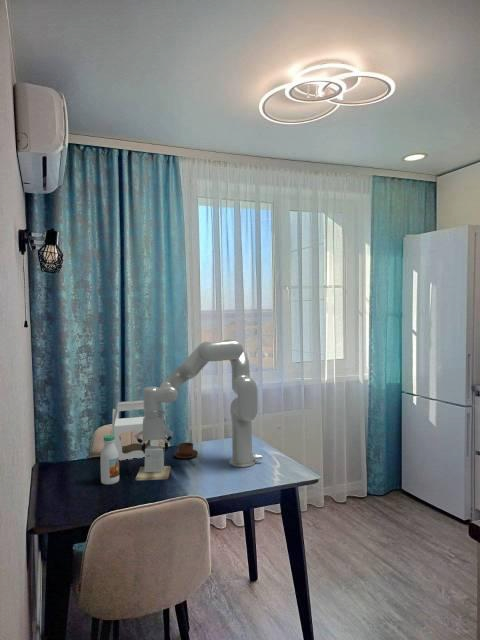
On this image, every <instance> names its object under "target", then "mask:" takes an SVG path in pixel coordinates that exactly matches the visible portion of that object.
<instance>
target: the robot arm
mask: <svg viewBox="0 0 480 640" xmlns="http://www.w3.org/2000/svg"><path fill="white" fill-rule="evenodd" d="M221 361H223V362H224V361H230V365H231V387H232V388H231V389H232V391H233V392H234V393H235V394H236V396H237V397H235V398H234V399H233V400H232V402H231V403H230V421H231V444H232V445H231V449H232V451H231V452H232V454H231V455H232V458H230V459H229V461H228V462H229V465H230V466H232V467H236V468H248V467H253V466H254V465H255V464H256V463H257V462H256V461H257V460H263V455H261V454H260V455H259V454H258V453H256V454H254V453H253V439H252V438H253V432H252V431H253V430H252V428H253V427H252V421H253V420H255V418H256V416H257V415H258V409H259V408H258V386H257V383H256V381H255V380H254V379H253V378H252V377H251V375H250V361H249V357H248V355H247V353H246V351H245V350H244V347H243V345H242V343H241V342H239V341H238V340H234V339H224V340H223V341H222V342H211V341H210V342H209V341H204V342H201V343H200V344H198V345H197V347H196V348H195V349H194V350H193V352H191V354H190V355H189V356H188V357H187V358H186V359H185V360H184V361H183V362H182V363H181V364H180V365H179V366H178V367H177V368H176V369H175V370H173V372H172V373H170V374H169V375H168V376H167V378H166V379H165V380H164V381H163V382H162V383H161V384H160V386H159V387H158V386H147V387H144V388H143V390H142V400H143V401H144V409H143V413H144V415H143V416H145V417H144V418H143V430H142V431H138V432H137V433H136V434H135V435H134V437H135V439H136V441H137V442H138V444H141V445H142V451H143V453H144V454H145V449H146V442H147V441H148V440H158V441H160V440H162V441H164V453H165V452H168V450H169V442H170V441H171V439H172V438H173V435H174V431H172V430H170V429H168V428H166V423H165V417H164V416H163V415H164V414H165V412H166V411H165V410H162V405H161V404H162V403H165V404H166V403H167V404H169V403H173V402H175V401H176V400H177V399H178V397H179V394H178V392H179V391H178V389H179V388H181V386H182V385H184V383H186V382H187V381H189V380H191V379H194V378H195V377H196V376H198V374H200V373H201V371H202V370H203V369H204V368H205V367H206V366H207V364H208V363H209V362H221ZM167 434H169V436H168V437H167ZM141 435H142V438H140V437H141Z"/></svg>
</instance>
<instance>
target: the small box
mask: <svg viewBox="0 0 480 640" xmlns="http://www.w3.org/2000/svg"><path fill="white" fill-rule="evenodd" d="M164 466H165V445H164V446H163V445H161V446H160V445H158V446H147V447H146V449H145V458H144V467H145V470H144V472H153V473H162V471H163V469H164Z"/></svg>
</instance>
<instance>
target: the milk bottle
mask: <svg viewBox="0 0 480 640" xmlns="http://www.w3.org/2000/svg"><path fill="white" fill-rule="evenodd" d="M114 439H115V437H114V435H113V434H107V435H104V436H103V447H102V449H101V453H100V483H101V484H103V485H114V484H117V483H118V482H119V481H120V461H119V455H118V451H117V449H116V447H115V444H114V441H115V440H114Z"/></svg>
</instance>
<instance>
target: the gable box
mask: <svg viewBox="0 0 480 640" xmlns="http://www.w3.org/2000/svg"><path fill="white" fill-rule="evenodd" d="M137 410H144V401H143V399H141V400H128V401H118V403H117V407H116V408H112V417H111V418H112V420H111V423H112V425H111V427H112V431H111V432H112V435H114V437H115V439H114V440H115V441H114V444H115V447H116V449H117V451H118V455H119V460H120V461H127V460H126V459H128V460H134V459H133V458H137V459H144V458H143V457H145V454H144V453H143V451H142V445H141V444H140V443H139V442H138V443H134V442H133V443H130V444H128V445H123V444H122V441H121V440H122V438H121V434H122V433H124V432H126V433H127V432H141V431H142V430H143V418H144V417H145V415H143V416H132V417H121V418H119V413H120V412H125V411H126V412H127V411H137ZM145 444H146V447H147V446H159V440H147V441H146V442H145Z"/></svg>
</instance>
